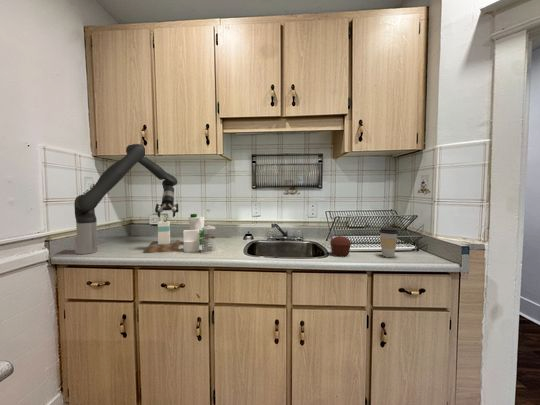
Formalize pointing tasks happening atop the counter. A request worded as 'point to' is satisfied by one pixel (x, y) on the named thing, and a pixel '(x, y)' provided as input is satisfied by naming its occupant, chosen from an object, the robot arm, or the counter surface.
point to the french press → (208, 240)
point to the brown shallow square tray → (163, 246)
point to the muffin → (340, 246)
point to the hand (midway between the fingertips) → (166, 216)
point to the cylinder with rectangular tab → (191, 240)
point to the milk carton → (197, 225)
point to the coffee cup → (388, 241)
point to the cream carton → (164, 232)
